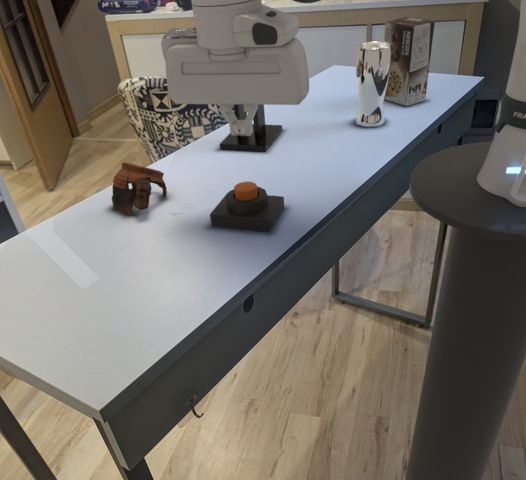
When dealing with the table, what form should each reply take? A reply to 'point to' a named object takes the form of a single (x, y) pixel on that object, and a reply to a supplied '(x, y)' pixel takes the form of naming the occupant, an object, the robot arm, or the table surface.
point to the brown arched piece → (135, 187)
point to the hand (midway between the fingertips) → (242, 134)
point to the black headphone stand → (259, 137)
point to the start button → (245, 191)
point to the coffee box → (409, 59)
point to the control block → (248, 212)
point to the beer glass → (372, 81)
